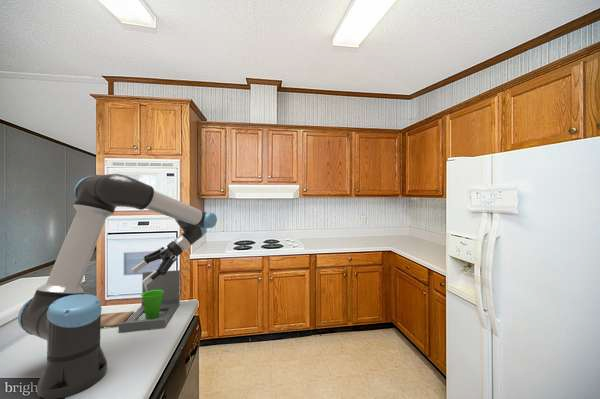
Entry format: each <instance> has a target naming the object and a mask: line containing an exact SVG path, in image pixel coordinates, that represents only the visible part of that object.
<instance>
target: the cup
mask: <svg viewBox="0 0 600 399" xmlns="http://www.w3.org/2000/svg"><path fill="white" fill-rule="evenodd" d="M163 293H164V291H163V290H151V291H147V292H144V293H143V294H142V293H141V295H140V296H141V299H143V305H144V310H145V313H144V316H145V320H147V319H158V318H159V317H160V313H161V312H160V308H161V302H162V297H163Z"/></svg>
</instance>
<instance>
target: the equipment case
mask: <svg viewBox="0 0 600 399" xmlns="http://www.w3.org/2000/svg"><path fill="white" fill-rule="evenodd" d="M155 271H156V270H155ZM153 272H154V271H143V272H142V279H141V282H142V281H143V280H144V279H145V278H147V277H148V276H149V275H150V274H152V273H153ZM156 272H157V271H156ZM163 272H164V271H163ZM141 284H142V285H141V287H142V289H141V290H142V293H141V295H142V294H143V293H144V292H147V291H151V290H163V291H164V293H163V297H162V302H161V308H160V313H163V312H165V313H164V315H163V316H162V317H161V318H160V317H158V318H156V319H140V318H141V317H142V316H143V315H144V314H145V310H144V305H143V299H142V298H141V299H142V300H141V306H139V307H138V309H137V310H136V311H134V314H133V315H132V316H131V317H130V318H129V319H128V320H127V321H126V322H124V323H119V327H118V333H129V332H137V331H146V330H147V331H149V330H158V329H166V327H167V325H168V324H169V322H170V321H171V319H172V318H173V316H174V314H175V312H176V311H177V309H178V307H180V304H181V270H179V269H177V270H168V271H167V272H166V274H165V275H159V276H158V277H156V278H155V279H154V280H152V281H151V282H150V283H149V284H148V285H145V284H144V283H143V282H142V283H141ZM143 313H144V314H143ZM142 314H143V315H142ZM141 315H142V316H141ZM140 316H141V317H140ZM139 317H140V318H139ZM139 319H140V320H139Z"/></svg>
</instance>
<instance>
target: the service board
mask: <svg viewBox="0 0 600 399" xmlns="http://www.w3.org/2000/svg"><path fill="white" fill-rule="evenodd" d="M133 313H135V311H122V312H121V311H120V312H110V313H109V312H108V313H101V329H105V328H104V327H111V328H119V323H124V322H125V321H126V320H127V319H128V318H129V317H130V316H131V315H132V314H133ZM117 326H118V327H117Z"/></svg>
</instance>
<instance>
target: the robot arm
mask: <svg viewBox="0 0 600 399" xmlns="http://www.w3.org/2000/svg"><path fill="white" fill-rule="evenodd" d="M73 195H74V197H75V201H74V204H73V208H74V209H75V210H76V213H75V216H74V217H73V220H72V222H71V225H70V227H69V229H68V232H67V234H66V236H65V238H64V241H63V243H62V246H61V248H60V250H59V253H58V256H56V257H57V258H56V260H55V262H54V264H53V266H52V269H51V271H50V273H49V276H48V279H47V280H46V282H45V284H43V285H41V286H39V287H38V288H36V290H35V292H34V295H33V297H31V298H30V299H28V300H27V301H26V302H25V303H24V304H23V305H22V307H21V308H20V309H19V311H18V316H17V322H18V325H19V327H20V328H21V329H22V330H23V331H25V333H27V334H29V335H31V336H35V337H38V338H40V339H42V340H45V341H46V344H47V345H46V348H47V349H46V363H45V365H44V367H43V370H42V373H41V375H40V377H39V380H38V382H37V389H36V392H37V394H36V395H37V397H38V398H40V397H43V398H44V399H62V398H65V397H69V396H72V395H73V396H74V394H78V393H80V392H83V391H84V390H87V389H88V388H90V387H92V386H93V385H95V384H96V383H97V382H99V381H100V380H101V379H102V378H103V377H104V376H105V375H106V373H107V371H108V361H107V360H108V359H107V358H106V356H105V354H104V352H103V349H102V347H101V329H102V328H101V315H102V310H103V309H102V304H101V300H100V298H99V297H98V296H96V295H94V294H88V293H85V294H84V290H83V288H82V287H81V285H82V282H83V280H84V277H85V275H86V272H87V269H88V268H89V264H90V262H91V259H92V257H93V254H94V252H95V249H96V246H97V244H98V241H99V238H100V235H101V234H102V230H103V228H104V225H105V223H106V221H107V219H108V218H109V217H111V216H114V213H115V211H116V207H122V208H123V207H124V208H133V209H136V210H140V211H143V210H145V209H146V210H148V211H151V212H155V213H157V214H160V215H164V216H166V217H169V218H172V219H174V220H175V222H176V223H177V225H178V226H179V227H180V228H181V230H182V231H183V232H182V233H181V234H180V235H179V236H178V237H176V238H175V239H174V241H173V240H171V242H169V243H168V244H167V245H166V248H165V247H164V246H163V247H160V248H158V249H157V250H155V251H153V252H151V253H149V254H145V255H144V256H143V260H142V261H141V262H139V263H138V264H137V265H135V266H134V267H133V268H132V269H131V271H132V273H133V274H135V275H136V274H137V273H139V271H141V270H142V269H144V268H145V267H146V266H148V265H149V264H150V263H152V262H156V261H158V260H162V261H161V263H160V264H159V266H158V268H157V269H155V270H153V271H152V272H153V273H152V274H150V275H149V276H148V277H147V278H145V279H144V280H143V281H142V280H141V282H143V283H144V284H145V285H148V284H149V283H150V282H151V281H152V280H154V279H155V278H156V277H158V276H159V275H165V274H166V272H167V271H170V268H171V267H172V265H173V264H174V263H175V262H176V261H177V260H178V258H177V257H179V256H180V255H181V254H182V253H183V252H185V251H187V249H189V248H190V247H191V246H192V245H193V244H195V243H196V242H197V241H198V240H200V239H202V238H203V237H204V236H205V235H206V233H207V232H208V231H207V229H212V228H214V227H215V226H216V224H217V222H218V218H217V215H216V213H214V212H210V211H207V212H206V211H204V210H201V209H198V208H196V207H194V206H191V205H189V204H187V203H185V202H182V201H180V200H178V199H174V198H173V197H170V196H167V195H166V194H164V193H162V192H159V191H157V190H155V188H154V187H153V186H152V185H150V184H146V183H144V182H142V181H139V179H138V180H137V179H136V178H132V177H130V176H128V175H124V174H120V173H110V174H93V175H89V176H86V177H83V178H81V179H80V180H79V181H78V182H77V183H76V184H75V186H74V189H73ZM156 271H157V272H156ZM163 271H164V272H163Z"/></svg>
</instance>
